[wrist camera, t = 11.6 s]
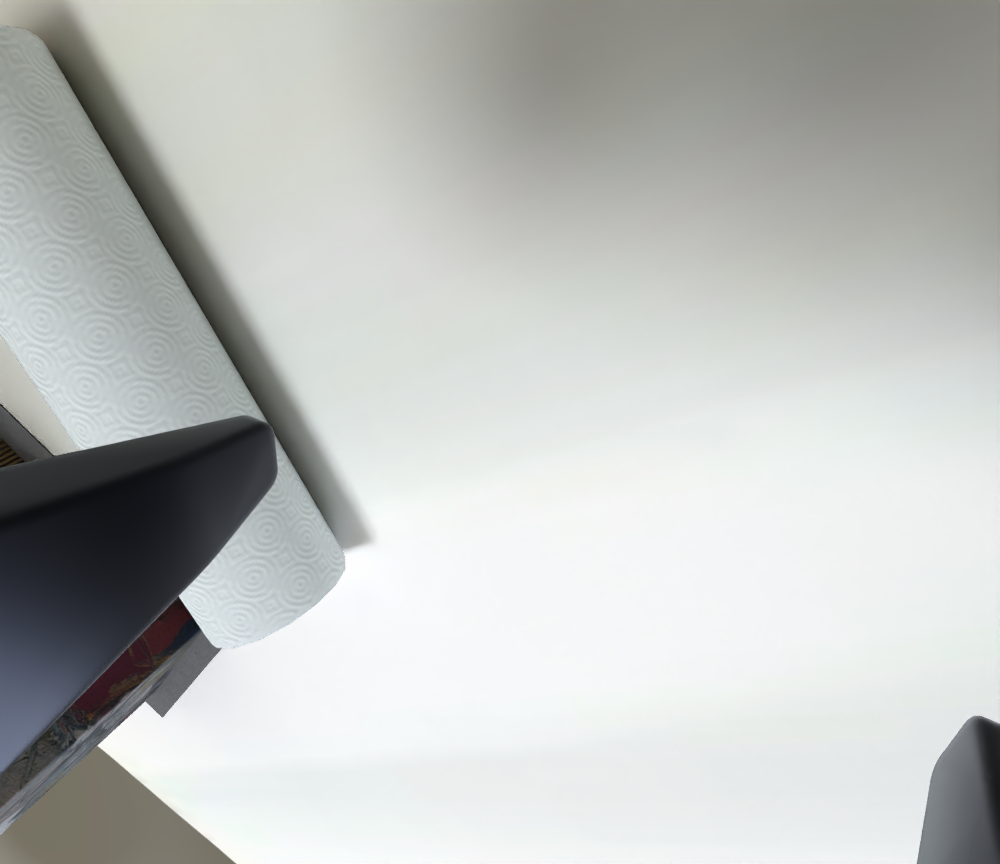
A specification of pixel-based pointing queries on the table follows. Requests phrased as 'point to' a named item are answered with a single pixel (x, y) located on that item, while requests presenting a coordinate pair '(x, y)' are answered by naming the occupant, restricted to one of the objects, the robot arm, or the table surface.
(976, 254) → the table surface
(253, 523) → the paper towel roll
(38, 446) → the row of books
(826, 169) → the table surface
